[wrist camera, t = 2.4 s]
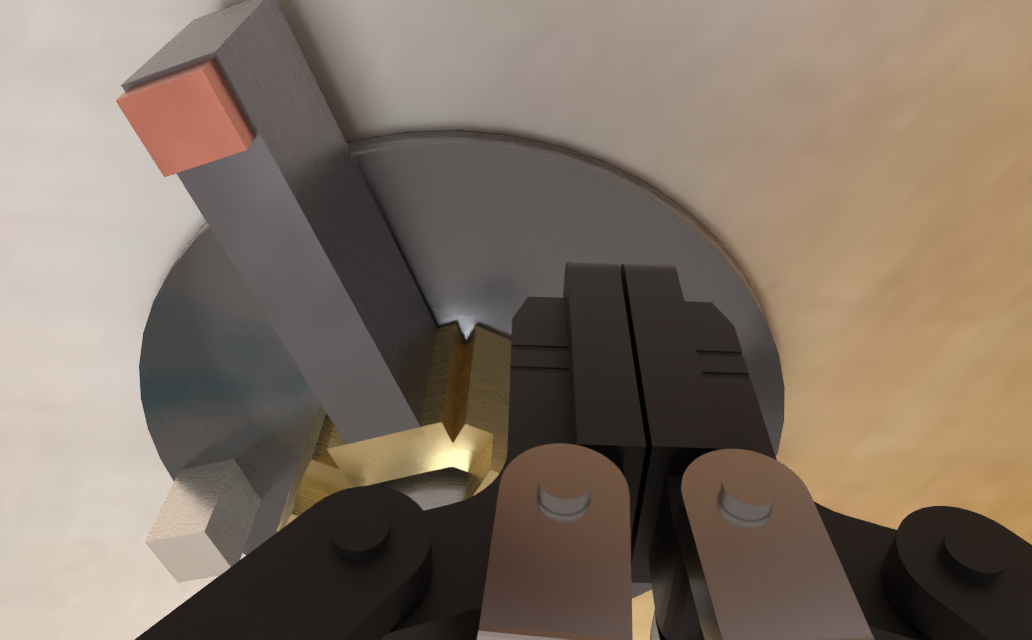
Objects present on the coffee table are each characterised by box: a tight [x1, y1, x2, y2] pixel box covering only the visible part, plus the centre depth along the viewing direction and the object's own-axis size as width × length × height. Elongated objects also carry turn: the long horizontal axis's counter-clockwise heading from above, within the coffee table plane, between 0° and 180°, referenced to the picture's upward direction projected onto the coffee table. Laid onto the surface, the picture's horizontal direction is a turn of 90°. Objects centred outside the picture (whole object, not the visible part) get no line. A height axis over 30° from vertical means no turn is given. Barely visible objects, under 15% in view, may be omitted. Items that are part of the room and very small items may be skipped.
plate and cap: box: [139, 130, 784, 598], centre depth 25 cm, size 20×20×7 cm
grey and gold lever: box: [116, 0, 511, 532], centre depth 22 cm, size 19×9×5 cm, turn 19°
